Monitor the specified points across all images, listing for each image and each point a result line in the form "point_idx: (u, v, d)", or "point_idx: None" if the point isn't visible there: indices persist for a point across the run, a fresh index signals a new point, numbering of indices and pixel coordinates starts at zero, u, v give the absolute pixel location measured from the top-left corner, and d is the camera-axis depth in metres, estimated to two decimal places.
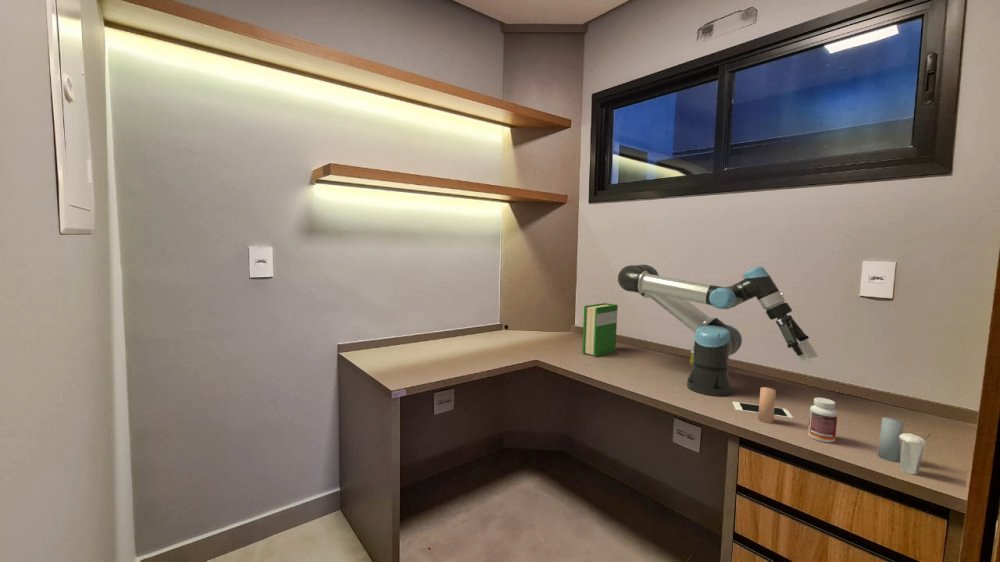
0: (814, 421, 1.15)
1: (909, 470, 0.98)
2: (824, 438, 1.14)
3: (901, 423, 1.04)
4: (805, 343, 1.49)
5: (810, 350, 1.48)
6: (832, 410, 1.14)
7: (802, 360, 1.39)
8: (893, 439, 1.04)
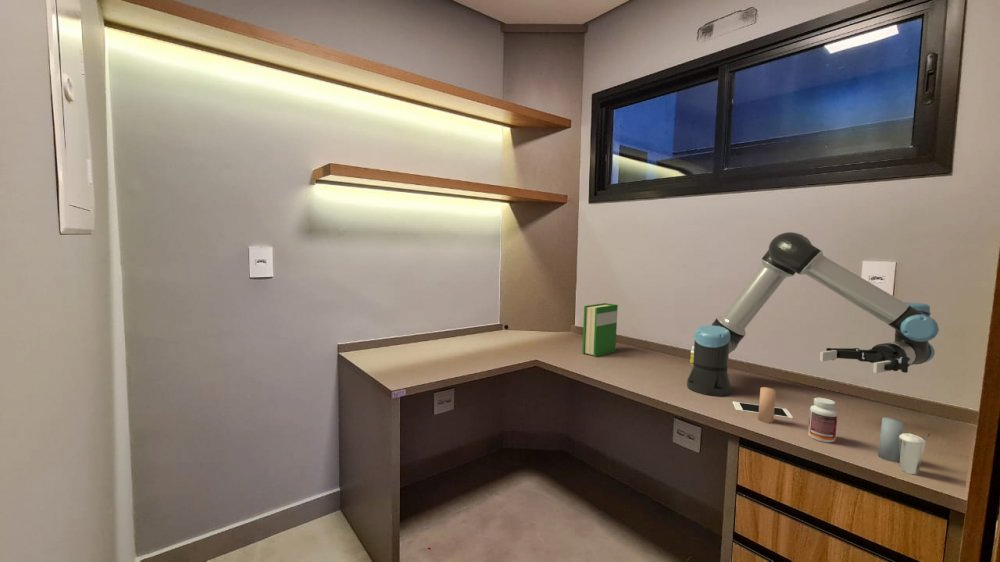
0: (814, 421, 1.15)
1: (909, 470, 0.98)
2: (824, 438, 1.14)
3: (901, 423, 1.04)
4: (834, 356, 1.26)
5: (828, 357, 1.25)
6: (832, 410, 1.14)
7: (880, 365, 1.12)
8: (893, 439, 1.04)
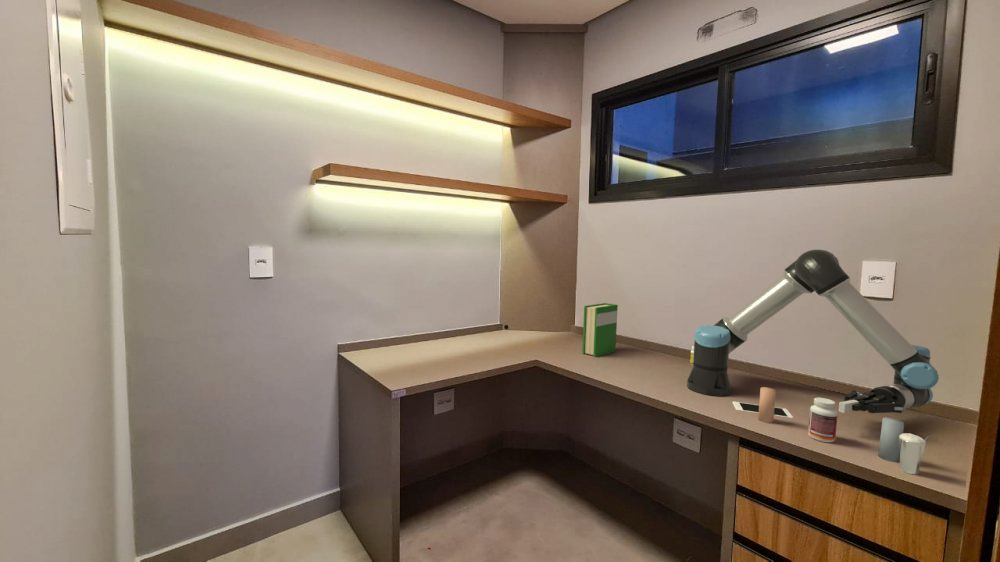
0: (814, 421, 1.15)
1: (909, 470, 0.98)
2: (824, 438, 1.14)
3: (901, 423, 1.03)
4: None
5: None
6: (832, 410, 1.14)
7: (847, 406, 1.18)
8: (894, 439, 1.04)
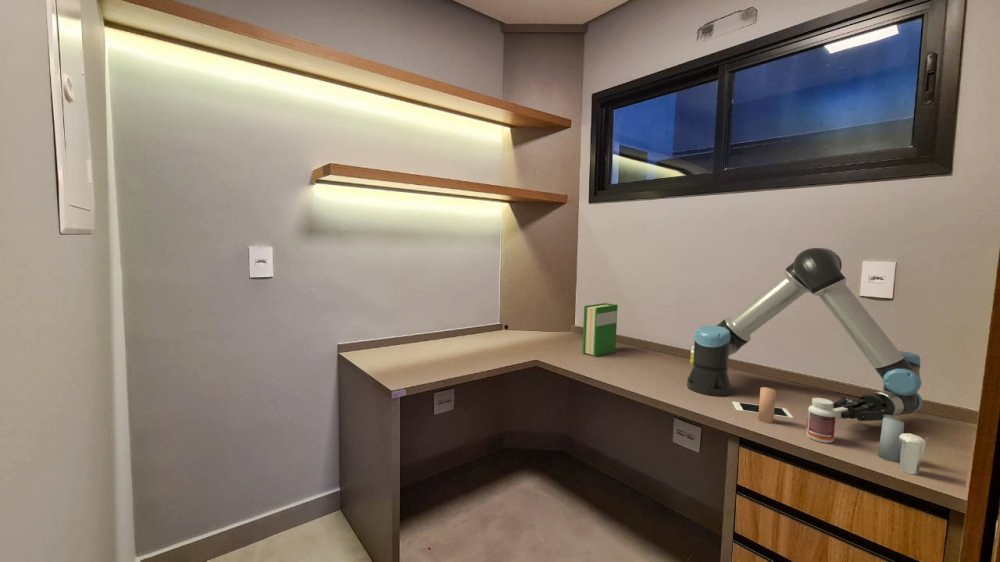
0: (813, 421, 1.15)
1: (909, 470, 0.98)
2: (822, 438, 1.13)
3: (902, 423, 1.03)
4: None
5: None
6: (831, 410, 1.13)
7: (836, 413, 1.16)
8: (894, 439, 1.04)
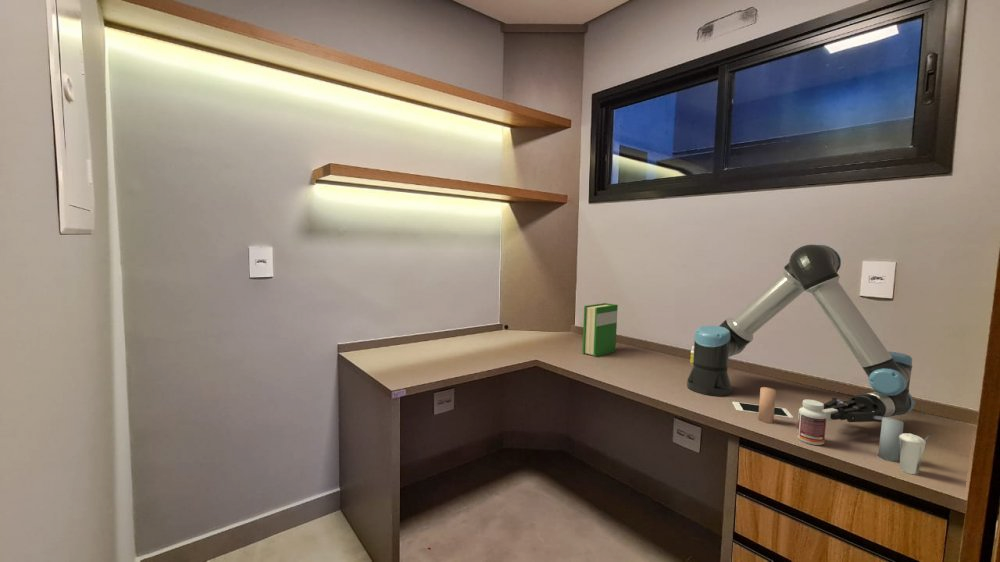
0: (804, 424, 1.13)
1: (909, 470, 0.98)
2: (814, 441, 1.12)
3: (901, 423, 1.04)
4: None
5: None
6: (822, 412, 1.12)
7: (826, 414, 1.15)
8: (894, 439, 1.04)
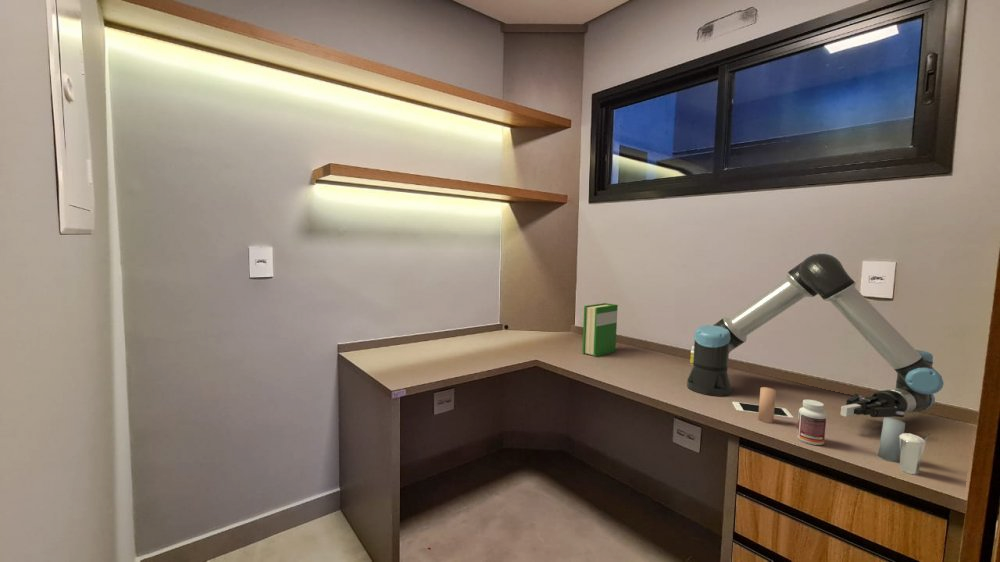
0: (804, 424, 1.13)
1: (909, 470, 0.98)
2: (814, 441, 1.12)
3: (903, 423, 1.03)
4: None
5: None
6: (822, 412, 1.12)
7: (850, 410, 1.19)
8: (895, 440, 1.04)
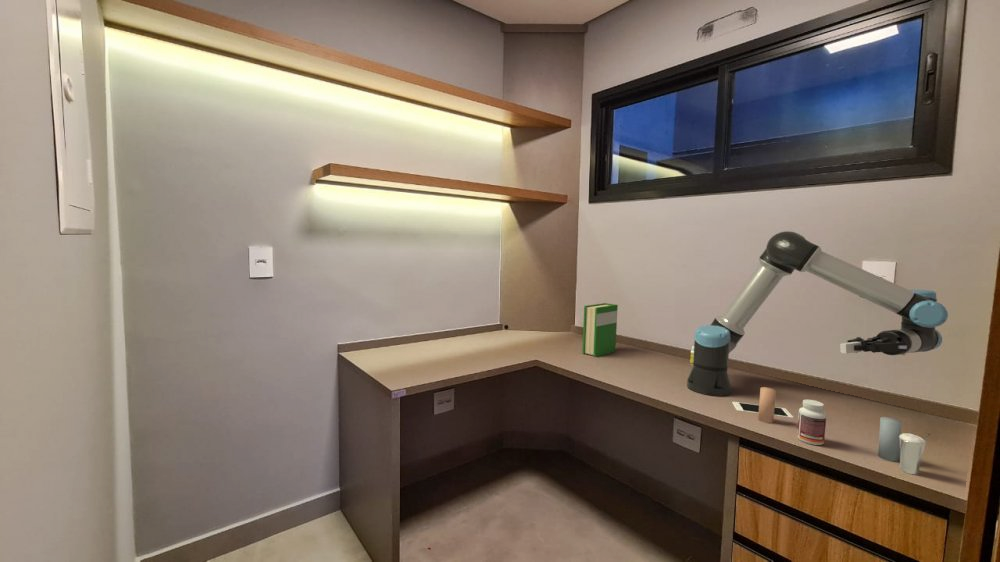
0: (804, 424, 1.13)
1: (909, 470, 0.98)
2: (814, 441, 1.12)
3: (899, 422, 1.04)
4: None
5: None
6: (822, 412, 1.12)
7: (849, 346, 1.19)
8: (893, 439, 1.04)
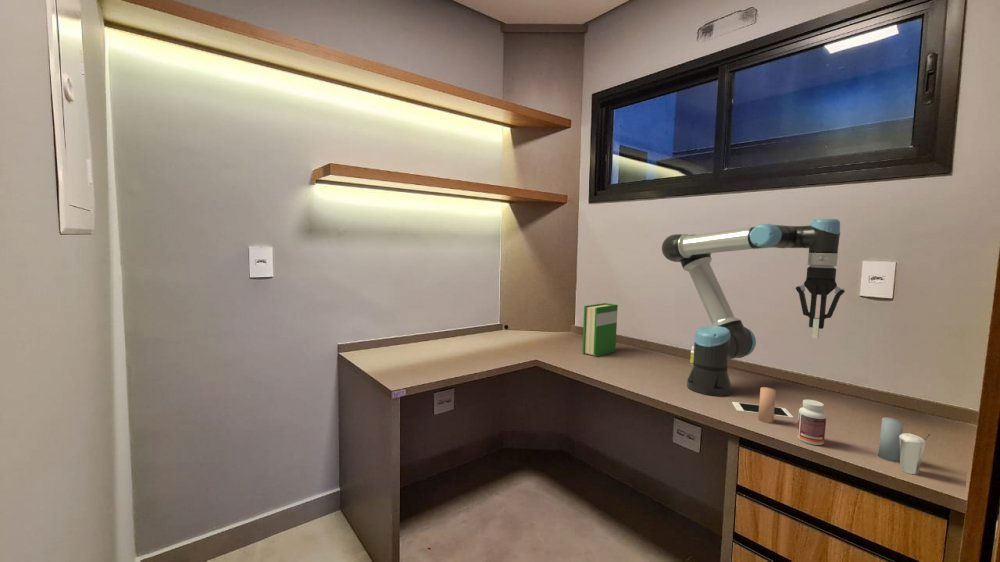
0: (804, 424, 1.13)
1: (909, 470, 0.98)
2: (814, 441, 1.12)
3: (902, 423, 1.03)
4: None
5: None
6: (822, 412, 1.12)
7: None
8: (895, 440, 1.03)
